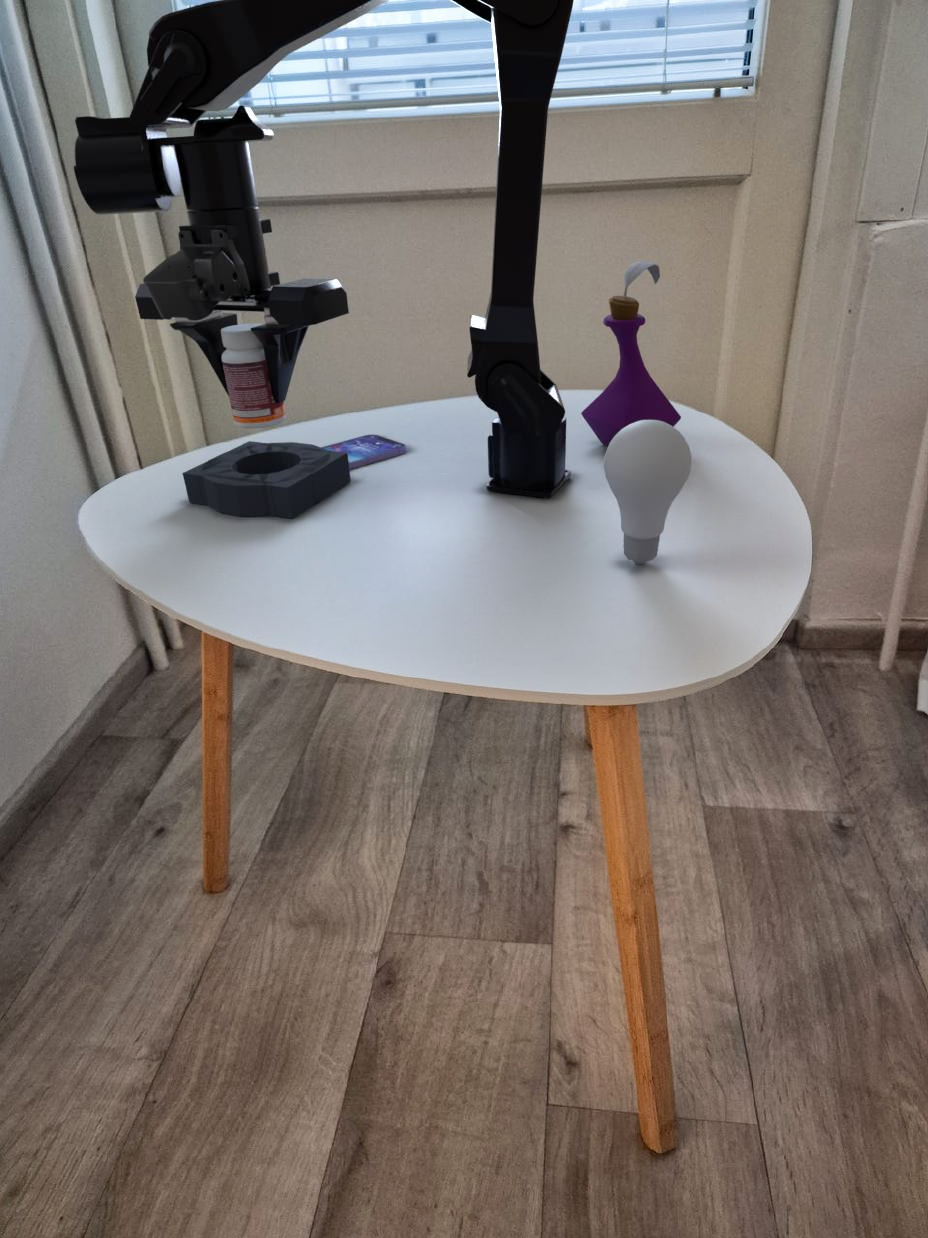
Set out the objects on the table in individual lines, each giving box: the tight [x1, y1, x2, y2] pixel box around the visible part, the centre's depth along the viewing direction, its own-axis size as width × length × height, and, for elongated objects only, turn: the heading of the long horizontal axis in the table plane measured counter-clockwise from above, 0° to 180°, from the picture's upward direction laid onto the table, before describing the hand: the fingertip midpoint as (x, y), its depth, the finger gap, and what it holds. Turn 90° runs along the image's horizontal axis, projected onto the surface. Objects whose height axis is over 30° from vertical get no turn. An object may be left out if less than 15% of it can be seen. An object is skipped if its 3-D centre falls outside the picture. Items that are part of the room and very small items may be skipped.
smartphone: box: [320, 433, 407, 470], centre depth 85 cm, size 7×1×15 cm
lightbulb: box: [603, 420, 693, 565], centre depth 58 cm, size 6×6×11 cm
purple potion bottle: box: [580, 261, 682, 447], centre depth 80 cm, size 8×8×18 cm
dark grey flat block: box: [182, 440, 352, 520], centre depth 77 cm, size 12×12×3 cm
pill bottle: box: [221, 323, 287, 429], centre depth 71 cm, size 5×5×8 cm
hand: (257, 400), depth 73 cm, fingers closed on pill bottle, 5 cm apart
